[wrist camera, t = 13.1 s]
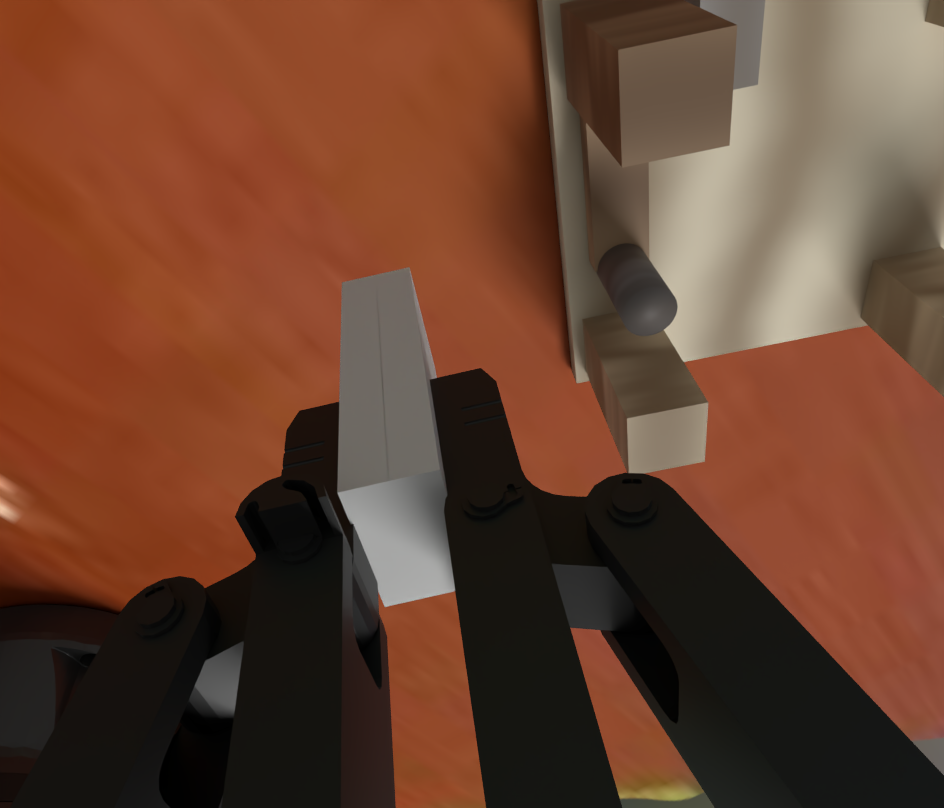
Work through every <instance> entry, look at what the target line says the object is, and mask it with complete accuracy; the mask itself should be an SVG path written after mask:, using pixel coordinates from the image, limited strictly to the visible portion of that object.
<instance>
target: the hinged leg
mask: <svg viewBox="0 0 944 808" xmlns="http://www.w3.org/2000/svg"><path fill="white" fill-rule="evenodd" d="M560 13H561V26H562V39H563V52H564V65H565V78H566V91H567V99H568V101H569V102H570V103H571V104H572V106H573V107H574V108H575V109H576V111H577V112H578V113H579V116H580V130H581V145H582V160H583V175H584V190H585V205H586V220H587V235H588V249H589V261H590V263H591V265H592V267H593V269H594V271H595V272H596V273H597V275H598V277H599V279H600V280H601V282H602V284H603V286H604V288H605V290H606V292H607V293H608V295H609V297H610V299H611V301H612V303H613V305H614V307H615V308H616V310H617V312H618V314H619V316H620V318H621V320H622V322H623V323H624V325H625V327H626V328H627V330H628V331H630V332H631V333H633V334H635V335H638V336H650V335H654V334H657V333H659V332H661V331H663V330H664V329H665V328H667V327H668V326H669V325H670V324H671V323H672V321H673V320H674V318H675V316H676V313H677V308H678V306H677V300H676V298H675V296H674V295H673V293H672V292H671V290H670V289H669V288H668V286H667V285H666V283H665V282H664V280H663V279H662V277H661V276H660V274H659V273H658V271H657V270H656V269H655V267H654V266H653V264H652V263H651V261H650V260H649V162H652V161H657V160H662V159H667V158H671V157H676V156H681V155H686V154H691V153H696V152H701V151H706V150H710V149H715V148H720V147H725V146H730V131H731V115H732V100H733V84H734V69H735V54H736V38H737V25H736V24H734V23H732V22H730V21H727V20H725V19H723V18H721V17H719V16H717V15H715V14H712V13H710V12H708V11H706V10H704V9H702V8H699V7H697V6H695V5H693V4H691V3H689V2H686V1H684V0H575V1H570V2H566V3H561V4H560Z"/></svg>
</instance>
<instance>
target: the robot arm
mask: <svg viewBox="0 0 944 808" xmlns="http://www.w3.org/2000/svg"><path fill="white" fill-rule="evenodd" d="M284 450H285V453H284V458H283V470H282V475H281V476H280V477H277V478H274V479H271V480H269V481H266V482H265V483H263V484H262V485H260V486H259V487H257V488H256V489H254V490H253V491H252V492H251V493H250V494H249V495H248V496H247V497H246V498H245V499H244V500H243V501H242V503H241V504H240V506H239V509H238V511H237V513H236V516H235V518H236V519H237V521H238V523H239V525H240V527H241V528H242V530H243V532H244V534H245V536H246V537H247V539H248V541H249V543H250V544H251V546H252V548H253V550H254V552H255V553H256V559H255V560H254V561H253V562H252V563H250V564H249V565H248V566H247V567H245V568H243V569H242V570H240V571H238V572H237V573H235V574H233V575H231V576H229V577H227V578H225V579H223V580H221V581H219V582H217V583H215V584H213V585H211V586H209V587H207V588H204V587H203V586H202V585H201V584H200V583H199V582H197V581H196V580H195V579H193V578H187V577H181V576H178V577H173V578H168V579H163V580H161V581H159V582H157V583H154V584H152V585H150V586H148V587H146V588H145V589H143V590H142V591H141V592H140V593H138V594H137V595H136V596H135V597H133V598H132V599H131V600H130V601H129V602H128V603H127V605H126V606H125V607H124V609H123V610H122V611H121V612H120V614H119V615H116V614H113V613H109V612H105V611H100V610H96V609H90V608H84V607H76V606H66V605H25V606H15V607H8V608H2V609H0V808H396V807H395V787H394V768H393V748H392V728H391V708H390V689H389V669H388V649H387V635H386V632H385V628H384V625H383V622H382V620H381V618H380V615H379V605H378V592H379V594H380V597H381V599H382V601H383V604H384V606H385V607H387V606H391V605H396V604H400V603H404V602H409V601H413V600H418V599H422V598H427V597H431V596H435V595H440V594H444V593H449V592H453V591H455V592H456V599H457V606H458V613H459V620H460V627H461V634H462V641H463V648H464V655H465V662H466V669H467V676H468V683H469V690H470V697H471V704H472V711H473V718H474V725H475V732H476V739H477V746H478V753H479V760H480V767H481V774H482V781H483V788H484V795H485V802H486V808H622V805H621V802H620V799H619V795H618V792H617V788H616V785H615V781H614V778H613V774H612V771H611V767H610V764H609V761H608V757H607V754H606V750H605V747H604V743H603V740H602V736H601V733H600V729H599V726H598V723H597V719H596V716H595V712H594V709H593V705H592V702H591V698H590V695H589V691H588V688H587V685H586V681H585V678H584V674H583V671H582V667H581V664H580V660H579V657H578V653H577V650H576V647H575V643H574V640H573V636H572V633H571V629H570V627H571V628H583V629H595V630H601V633H602V635H603V636H604V638H605V639H606V641H607V642H608V644H609V645H610V647H611V649H612V650H613V652H614V653H615V655H616V656H617V658H618V659H619V661H620V662H621V664H622V665H623V667H624V669H625V670H626V672H627V673H628V675H629V676H630V678H631V679H632V681H633V682H634V684H635V686H636V687H637V689H638V690H639V692H640V693H641V695H642V696H643V698H644V699H645V701H646V702H647V704H648V706H649V707H650V709H651V710H652V712H653V713H654V715H655V716H656V718H657V719H658V721H659V722H660V724H661V726H662V727H663V729H664V730H665V732H666V733H667V735H668V736H669V738H670V739H671V741H672V743H673V744H674V746H675V747H676V749H677V750H678V752H679V753H680V755H681V756H682V758H683V759H684V761H685V763H686V764H687V766H688V767H689V769H690V770H691V772H692V773H693V775H694V776H695V778H696V779H697V781H698V783H699V784H700V786H701V787H702V789H703V790H704V792H705V793H706V795H707V796H708V798H709V799H710V801H711V803H712V804H713V805H714V807H715V808H944V775H943V774H942V773H941V772H940V771H939V770H938V769H937V768H936V767H935V766H934V765H933V764H932V763H931V761H929V759H928V758H927V757H926V756H925V755H924V754H923V753H922V752H921V751H920V750H919V749H918V748H917V747H916V746H915V745H914V744H913V742H912V741H911V740H910V739H909V738H908V737H907V736H906V735H905V734H904V733H903V732H902V731H901V730H900V729H899V728H898V726H897V725H896V724H895V723H894V722H893V721H892V720H891V719H890V718H889V717H888V716H887V715H886V714H885V713H884V712H883V711H882V710H881V708H880V707H879V706H878V705H877V704H876V703H875V702H874V701H873V700H872V699H871V698H870V697H869V696H868V695H867V694H866V693H865V692H864V690H863V689H862V688H861V687H860V686H859V685H858V684H857V683H856V682H855V681H854V680H853V679H852V678H851V677H850V676H849V675H848V673H847V672H846V671H845V670H844V669H843V668H842V667H841V666H840V665H839V664H838V663H837V662H836V661H835V660H834V659H833V658H832V657H831V655H830V654H829V653H828V652H827V651H826V650H825V649H824V648H823V647H822V646H821V645H820V644H819V643H818V642H817V641H816V640H815V639H814V637H813V636H812V635H811V634H810V633H809V632H808V631H807V630H806V629H805V628H804V627H803V626H802V625H801V624H800V623H799V622H798V620H797V619H796V618H795V617H794V616H793V615H792V614H791V613H790V612H789V611H788V610H787V609H786V608H785V607H784V606H783V605H782V604H781V602H780V601H779V600H778V599H777V598H776V597H775V596H774V595H773V594H772V593H771V592H770V591H769V590H768V589H767V588H766V587H765V585H764V584H763V583H762V582H761V581H760V580H759V579H758V578H757V577H756V576H755V575H754V574H753V573H752V572H751V571H750V570H749V569H748V567H747V566H746V565H745V564H744V563H743V562H742V561H741V560H740V559H739V558H738V557H737V556H736V555H735V554H734V553H733V552H732V551H731V549H730V548H729V547H728V546H727V545H726V544H725V543H724V542H723V541H722V540H721V539H720V538H719V537H718V536H717V535H716V534H715V532H714V531H713V530H712V529H711V528H710V527H709V526H708V525H707V524H706V523H705V522H704V521H703V520H702V519H701V518H700V517H699V516H698V514H697V513H696V512H695V511H694V510H693V509H692V508H691V507H690V506H689V505H688V504H687V503H686V502H685V501H684V500H683V499H682V498H681V496H680V495H679V494H678V493H677V492H676V491H675V490H674V489H673V488H672V487H670V486H669V485H668V484H666V483H665V482H663V481H662V480H661V479H659V478H656V477H653V476H650V475H646V474H643V473H623V474H619V475H615V476H611V477H608V478H606V479H604V480H603V481H601V482H600V483H598V484H597V485H595V486H594V487H593V489H592V490H591V492H590V493H589V494H588V496H587V497H576V496H562V495H554V494H551V493H548V492H545V491H542V490H540V489H539V488H537V487H535V486H534V485H532V484H531V483H530V482H529V481H528V480H527V479H526V477H525V476H524V473H523V471H522V469H521V466H520V463H519V459H518V456H517V452H516V449H515V445H514V442H513V438H512V435H511V432H510V428H509V425H508V421H507V418H506V415H505V411H504V407H503V404H502V401H501V397H500V393H499V390H498V387H497V383H496V381H495V380H494V379H493V378H492V377H490V376H489V375H488V374H487V373H486V372H485V371H484V370H482V369H481V368H479V369H475V370H470V371H466V372H461V373H457V374H452V375H448V376H444V377H439V378H437V377H436V371H435V366H434V362H433V358H432V354H431V350H430V347H429V343H428V339H427V335H426V331H425V327H424V323H423V319H422V315H421V311H420V307H419V303H418V299H417V295H416V291H415V287H414V283H413V280H412V276H411V272H410V268H405V269H400V270H396V271H391V272H387V273H382V274H378V275H373V276H369V277H365V278H360V279H356V280H351V281H347V282H342V308H341V352H340V397H339V402H336V403H332V404H327V405H323V406H319V407H314V408H310V409H305V410H301V411H299V412H298V414H297V415H296V417H295V418H294V420H293V421H292V423H291V425H290V426H289V428H288V429H287V432H286V441H285V449H284Z"/></svg>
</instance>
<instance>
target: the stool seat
mask: <svg viewBox="0 0 944 808" xmlns="http://www.w3.org/2000/svg"><path fill="white" fill-rule="evenodd" d="M570 1H575V0H537V3H538V14H539V24H540V35H541V46H542V56H543V67H544V78H545V88H546V99H547V110H548V121H549V131H550V142H551V153H552V163H553V174H554V185H555V195H556V206H557V217H558V227H559V238H560V249H561V259H562V270H563V281H564V291H565V302H566V313H567V323H568V334H569V345H570V355H571V366H572V373H573V375H574V378H575V380H576V383H581V382H586V381H590V383H591V385H592V388H593V390H594V393H595V395H596V398H597V400H598V402H599V405H600V407H601V410H602V412H603V415H604V417H605V419H606V422H607V424H608V427H609V429H610V432H611V434H612V436H613V439H614V441H615V444H616V446H617V449H618V451H619V453H620V456H621V458H622V461H623V463H624V466H625V468H626V470H627V473H648V472H654V471H659V470H664V469H669V468H674V467H679V466H684V465H689V464H694V463H699V462H704V461H705V447H706V431H707V414H708V401H707V400H706V398H705V396H704V395H703V393H702V391H701V390H700V388H699V387H698V385H697V383H696V382H695V380H694V378H693V377H692V375H691V373H690V372H689V370H688V369H687V367H686V365H685V364H684V362H686V361H691V360H696V359H701V358H706V357H711V356H716V355H721V354H726V353H731V352H736V351H741V350H746V349H751V348H756V347H761V346H766V345H771V344H776V343H781V342H786V341H791V340H796V339H801V338H806V337H811V336H816V335H821V334H826V333H831V332H836V331H841V330H846V329H851V328H856V327H861V326H866V325H868V326H870V327H871V328H872V329H873V330H874V331H875V332H876V333H877V334H878V335H879V336H880V337H881V338H882V339H883V340H884V341H885V342H886V343H887V344H889V345H890V346H891V347H892V348H893V349H894V350H895V351H896V352H897V353H898V354H899V355H900V356H901V357H902V358H903V359H904V360H905V361H906V362H908V363H909V364H910V365H911V366H912V367H913V368H914V369H915V370H916V371H917V372H918V373H919V374H920V375H921V376H922V377H923V378H924V379H925V380H927V381H928V382H929V383H930V384H931V385H932V386H933V387H934V388H935V389H936V390H937V391H938V392H939V393H940V394H941V395H942V396H943V397H944V0H684V1H686V2H689V3H691V4H693V5H695V6H697V7H699V8H702V9H704V10H706V11H708V12H710V13H712V14H715V15H717V16H719V17H721V18H723V19H725V20H727V21H730V22H732V23H734V24H736V25H737V38H736V54H735V69H734V84H733V100H732V115H731V131H730V146H725V147H720V148H715V149H710V150H706V151H701V152H696V153H691V154H686V155H681V156H676V157H671V158H667V159H662V160H657V161H652V162H649V260H650V261H651V263H652V264H653V266H654V267H655V269H656V270H657V271H658V273H659V274H660V276H661V277H662V279H663V280H664V282H665V283H666V285H667V286H668V288H669V289H670V290H671V292H672V293H673V295H674V296H675V298H676V300H677V306H678V308H677V313H676V316H675V318H674V320H673V321H672V323H671V324H670V325H669V326H668V327H667V328H665V329H664V330H663V331H661V332H659V333H657V334H654V335H650V336H638V335H635V334H633V333H631V332H630V331H628V330H627V328H626V327H625V325H624V323H623V322H622V320H621V318H620V316H619V314H618V312H617V310H616V308H615V307H614V305H613V303H612V301H611V299H610V297H609V295H608V293H607V292H606V290H605V288H604V286H603V284H602V282H601V280H600V279H599V277H598V275H597V273H596V272H595V271H594V269H593V267H592V265H591V263H590V261H589V249H588V235H587V220H586V205H585V190H584V175H583V160H582V145H581V130H580V116H579V113H578V112H577V111H576V109H575V108H574V107H573V106H572V104H571V103H570V102H569V101H568V99H567V91H566V78H565V65H564V52H563V39H562V26H561V13H560V4H561V3H566V2H570Z"/></svg>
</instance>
